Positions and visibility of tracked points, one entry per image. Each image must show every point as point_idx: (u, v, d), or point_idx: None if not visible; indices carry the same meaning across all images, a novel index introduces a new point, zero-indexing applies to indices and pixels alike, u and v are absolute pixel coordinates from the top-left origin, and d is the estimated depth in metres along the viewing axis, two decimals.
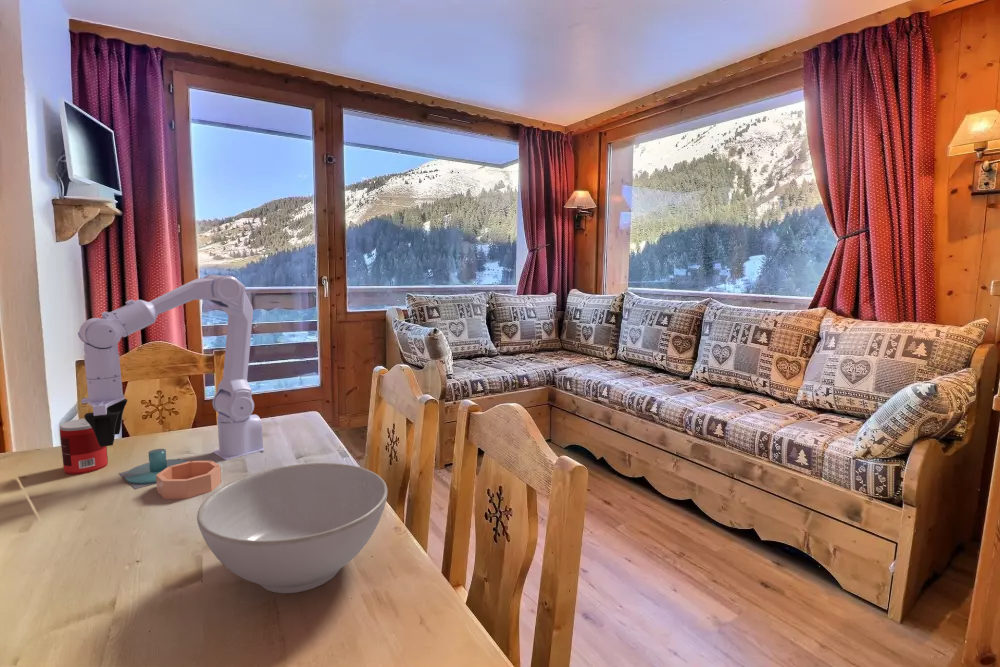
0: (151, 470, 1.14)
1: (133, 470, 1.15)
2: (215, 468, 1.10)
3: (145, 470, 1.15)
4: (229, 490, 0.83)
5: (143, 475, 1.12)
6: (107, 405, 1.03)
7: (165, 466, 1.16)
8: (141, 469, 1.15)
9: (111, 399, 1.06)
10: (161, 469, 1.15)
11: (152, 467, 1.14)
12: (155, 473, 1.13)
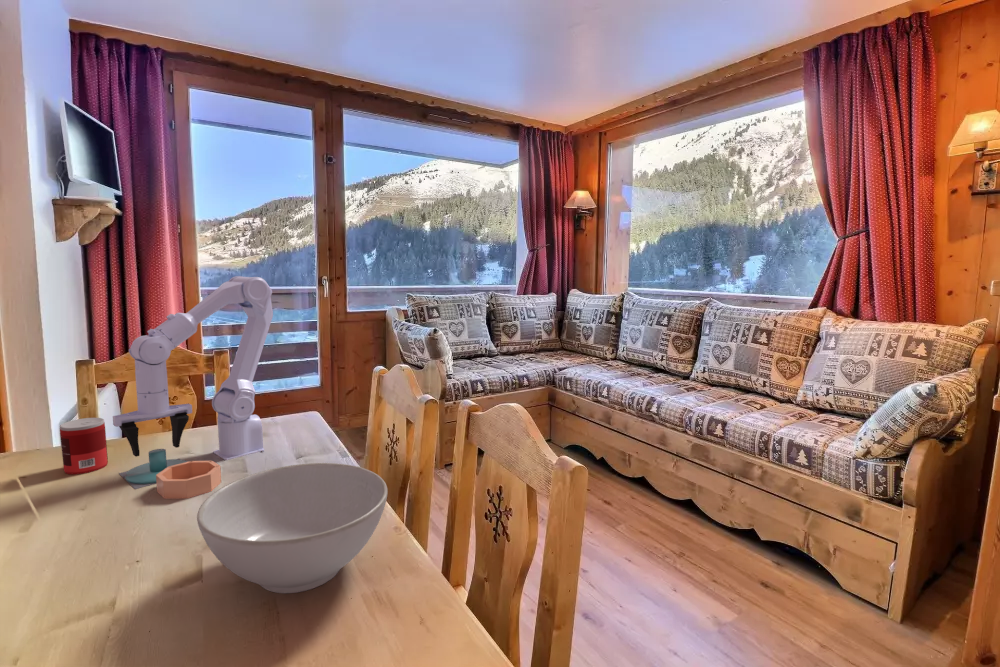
0: (151, 470, 1.14)
1: (133, 470, 1.15)
2: (215, 468, 1.10)
3: (145, 470, 1.15)
4: (229, 490, 0.83)
5: (143, 475, 1.12)
6: (122, 418, 1.09)
7: (165, 466, 1.16)
8: (141, 469, 1.15)
9: (141, 413, 1.11)
10: (161, 469, 1.15)
11: (152, 467, 1.14)
12: (155, 473, 1.13)
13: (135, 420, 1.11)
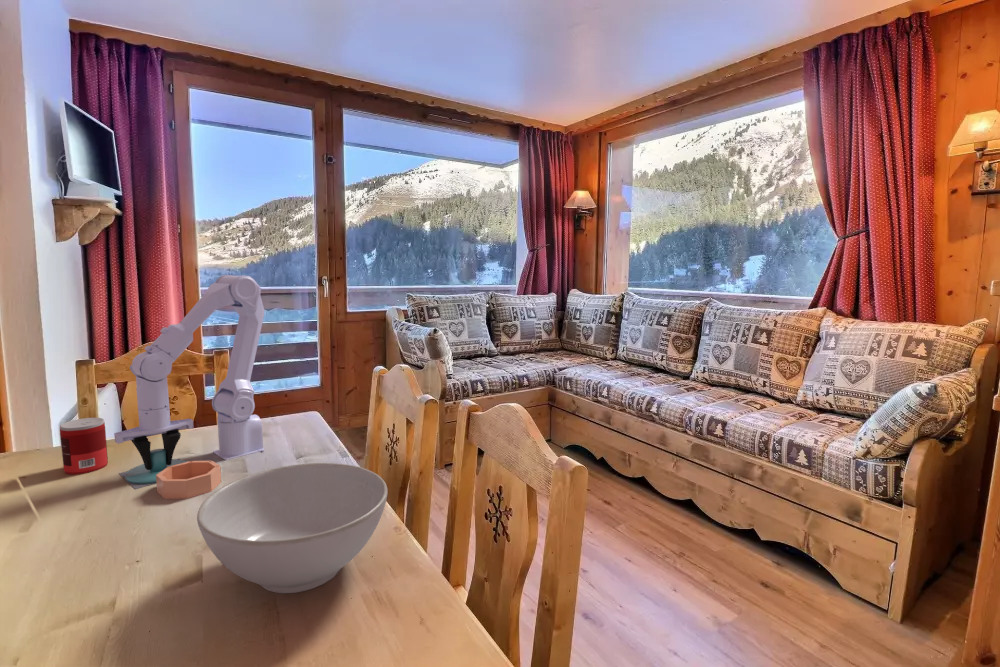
0: (151, 470, 1.14)
1: (133, 470, 1.15)
2: (215, 468, 1.10)
3: (145, 470, 1.15)
4: (229, 490, 0.83)
5: (143, 475, 1.12)
6: (124, 435, 1.09)
7: (165, 466, 1.16)
8: (141, 469, 1.15)
9: (143, 430, 1.12)
10: (161, 469, 1.15)
11: (152, 467, 1.14)
12: (155, 473, 1.13)
13: (137, 436, 1.12)
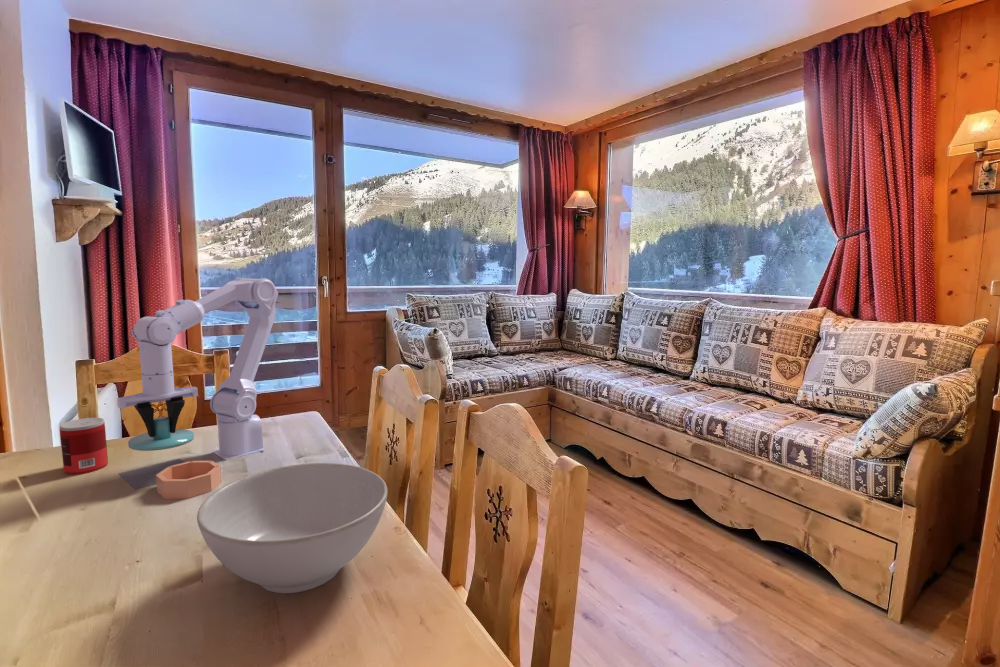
0: (154, 438, 1.12)
1: (136, 437, 1.12)
2: (215, 468, 1.10)
3: (148, 438, 1.12)
4: (229, 490, 0.83)
5: (146, 442, 1.10)
6: (127, 400, 1.07)
7: (169, 434, 1.13)
8: (145, 437, 1.13)
9: (146, 395, 1.09)
10: (164, 437, 1.12)
11: (155, 435, 1.12)
12: (158, 441, 1.11)
13: (140, 402, 1.09)
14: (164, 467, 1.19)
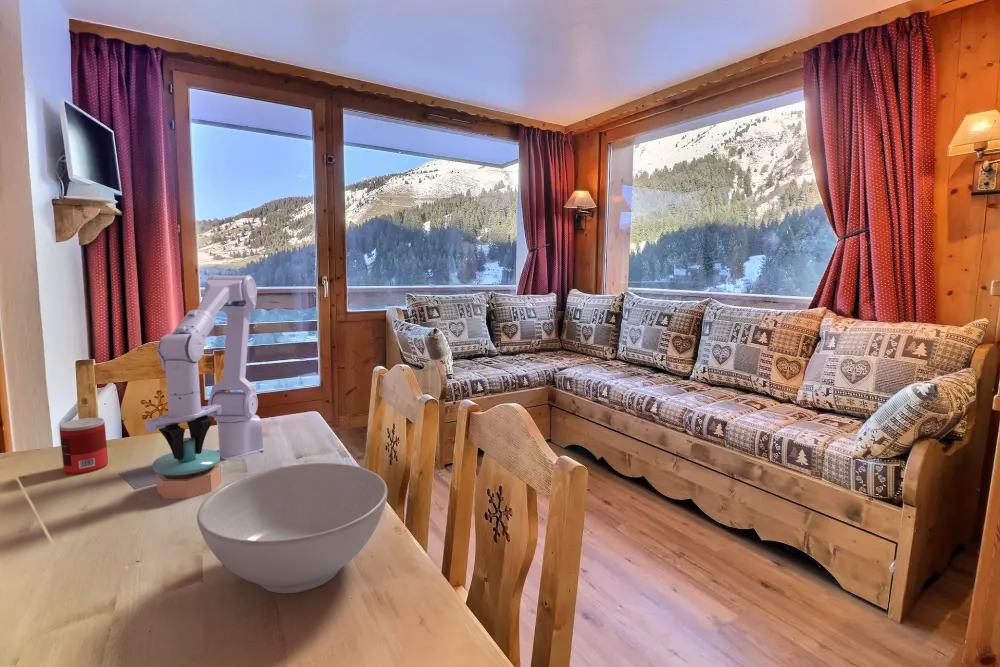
0: (181, 460, 1.07)
1: (158, 462, 1.06)
2: (215, 468, 1.10)
3: (172, 461, 1.07)
4: (229, 490, 0.83)
5: (175, 466, 1.05)
6: (157, 423, 1.01)
7: (195, 456, 1.09)
8: (168, 461, 1.07)
9: (175, 416, 1.04)
10: (192, 459, 1.08)
11: None
12: (187, 463, 1.06)
13: (168, 424, 1.04)
14: None
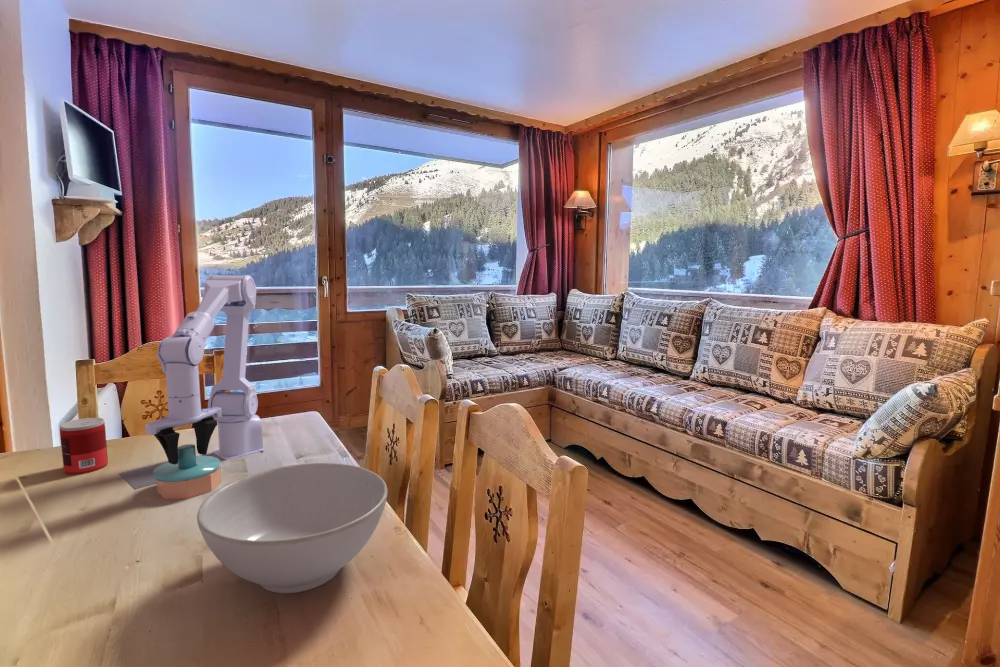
0: (181, 467, 1.07)
1: (159, 469, 1.07)
2: None
3: (173, 468, 1.07)
4: (229, 490, 0.83)
5: (175, 473, 1.05)
6: (158, 425, 1.01)
7: (195, 462, 1.09)
8: (168, 468, 1.07)
9: (176, 419, 1.04)
10: (192, 465, 1.08)
11: (183, 464, 1.07)
12: (187, 470, 1.06)
13: (168, 427, 1.04)
14: None
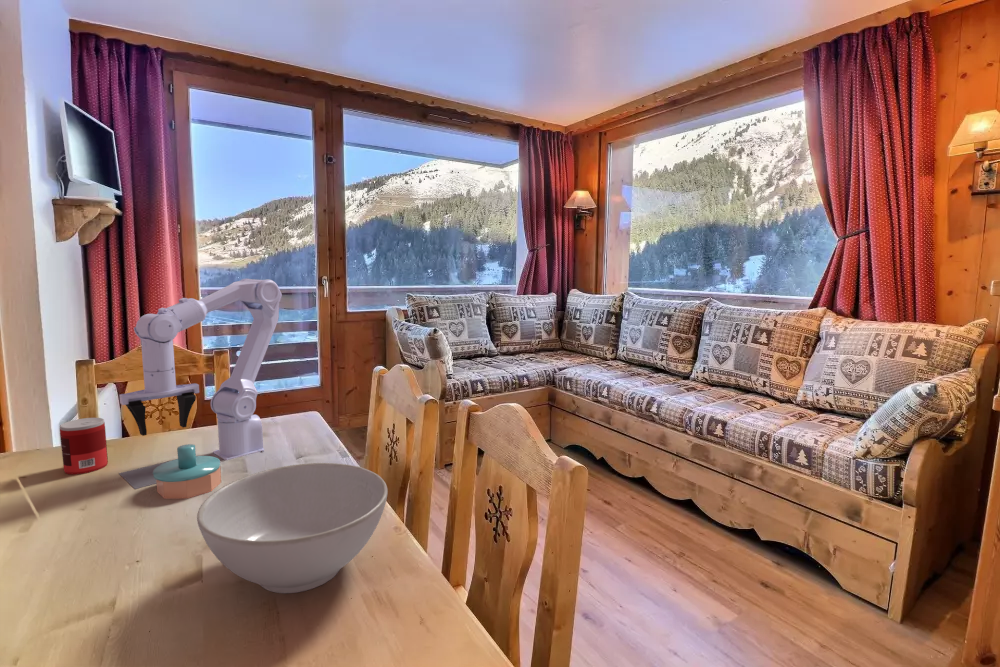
0: (181, 467, 1.07)
1: (159, 469, 1.07)
2: None
3: (173, 468, 1.07)
4: (229, 490, 0.83)
5: (175, 473, 1.05)
6: (129, 397, 1.08)
7: (195, 462, 1.09)
8: (168, 468, 1.07)
9: (148, 392, 1.10)
10: (192, 465, 1.08)
11: (183, 464, 1.07)
12: (187, 470, 1.06)
13: (142, 399, 1.10)
14: None
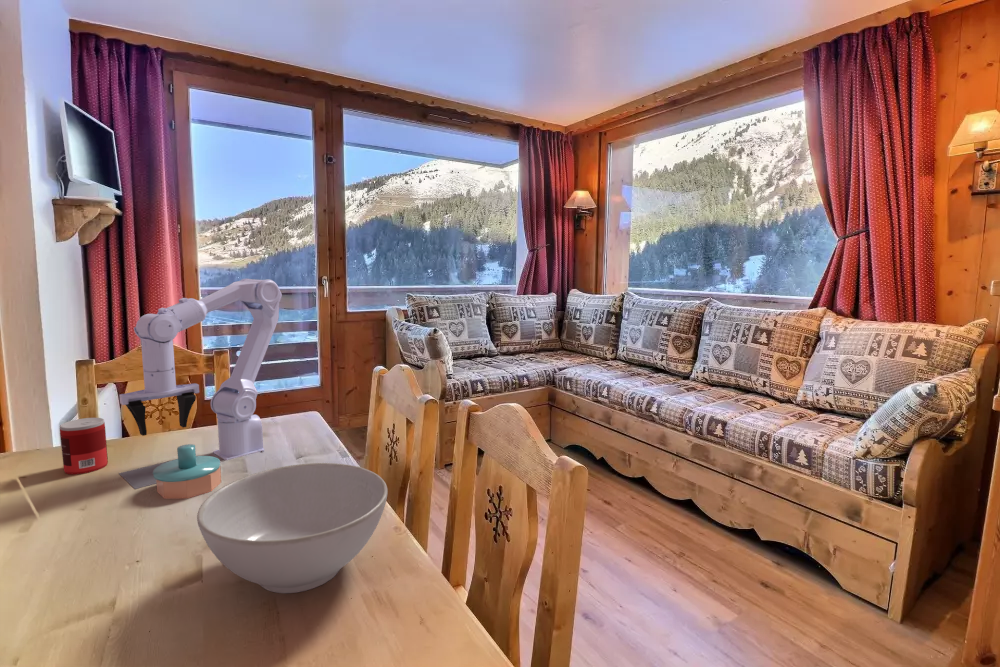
0: (181, 467, 1.07)
1: (159, 469, 1.07)
2: None
3: (173, 468, 1.07)
4: (229, 490, 0.83)
5: (175, 473, 1.05)
6: (129, 397, 1.08)
7: (195, 462, 1.09)
8: (168, 468, 1.07)
9: (148, 392, 1.10)
10: (192, 465, 1.08)
11: (183, 464, 1.07)
12: (187, 470, 1.06)
13: (142, 399, 1.10)
14: None
